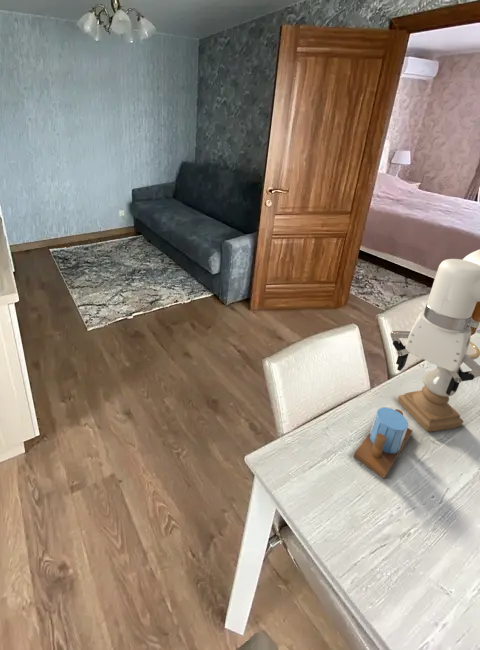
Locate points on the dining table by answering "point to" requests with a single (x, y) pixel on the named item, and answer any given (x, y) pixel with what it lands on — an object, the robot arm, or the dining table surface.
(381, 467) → the rack
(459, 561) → the dining table surface
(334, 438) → the dining table surface
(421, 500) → the dining table surface
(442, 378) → the candle holder
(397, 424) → the cup
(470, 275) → the robot arm
